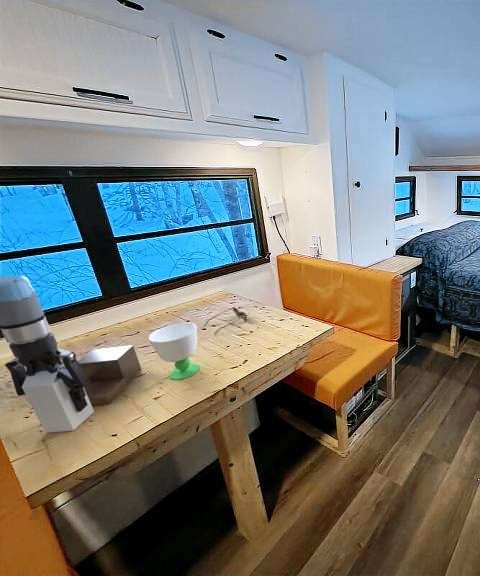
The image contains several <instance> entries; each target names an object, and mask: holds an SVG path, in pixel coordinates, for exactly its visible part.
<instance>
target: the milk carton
mask: <svg viewBox="0 0 480 576" xmlns="http://www.w3.org/2000/svg"><path fill="white" fill-rule="evenodd" d="M55 368H57V372H55V373H52V374H51V373H49V372H48V371H39V372H36V373H35V374H34V376H29V377H28V375H27V377H26V379H25V381H24V383H23V385H22V389H23V390H24V392H25V394H26V395H25V396H26V399H27V400H28V402H29V404H30V406H31V408H32V410H33V412H34V414H35V415H36V417H37V419H38V421H39V423H40V425H41V427H42V429H43V431H44V432H45V434H48V433H60V432H72V431H75V430H76V429H77V428H78V427H80V425H82V423H84V421H86V420H88V418H89V417H90V416H91V415H93V414H94V413H95V410H94V408H93V406H92V405H91V403H90V401H89V399H88V396H87V394H86V396H85V400H86V402H87V404H88V405H87V406H86V407H85V408H84V409H83V410H82V411H81V412H78V411H77V409H76V407H75V405H74V403H73V401H72V398H71V396H70V394H69V392H70V391H71V389H70V388H69V387H68V386H66V385H65V384H64V382H63V380H62V378H58V377H57V376H56V375H57V373H58V371H59V368H64V367H60V365H59V364H56V365H55V367H54V369H55ZM75 385H76V384H75ZM83 389H84V387H83ZM84 391H85V389H84ZM85 393H86V392H85Z"/></svg>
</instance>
